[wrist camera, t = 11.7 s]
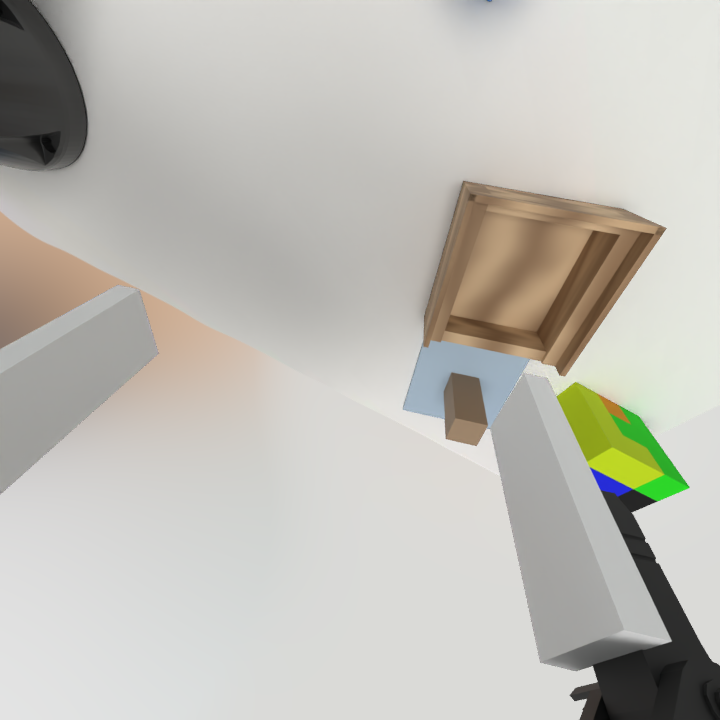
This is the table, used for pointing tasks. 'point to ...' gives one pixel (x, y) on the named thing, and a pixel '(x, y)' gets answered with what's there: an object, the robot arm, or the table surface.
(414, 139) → the table surface
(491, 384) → the cover plate
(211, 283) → the table surface
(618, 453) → the puzzle toy
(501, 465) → the robot arm
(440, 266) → the oak box
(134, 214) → the table surface
